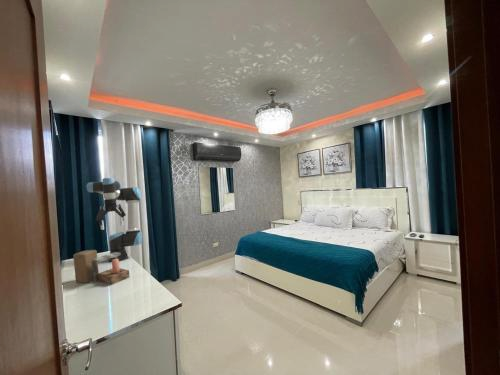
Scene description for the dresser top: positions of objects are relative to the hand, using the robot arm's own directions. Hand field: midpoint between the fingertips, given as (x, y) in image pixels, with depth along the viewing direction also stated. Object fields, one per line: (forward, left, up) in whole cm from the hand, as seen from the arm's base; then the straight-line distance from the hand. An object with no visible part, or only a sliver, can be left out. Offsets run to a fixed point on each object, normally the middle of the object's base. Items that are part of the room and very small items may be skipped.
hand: (112, 227), depth 163 cm
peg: (+6, +11, -35) cm, 37 cm away
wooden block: (+14, -11, -35) cm, 39 cm away
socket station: (+6, +6, -35) cm, 36 cm away
